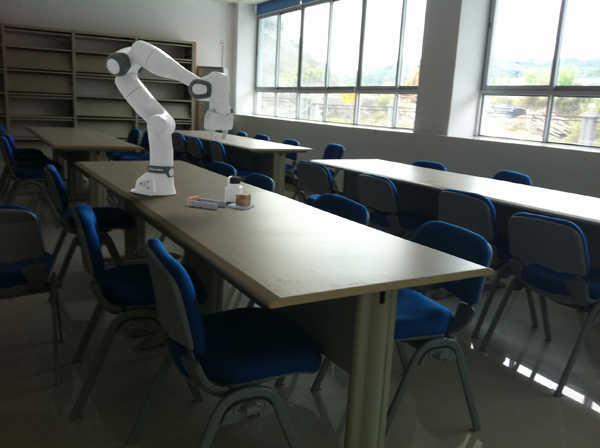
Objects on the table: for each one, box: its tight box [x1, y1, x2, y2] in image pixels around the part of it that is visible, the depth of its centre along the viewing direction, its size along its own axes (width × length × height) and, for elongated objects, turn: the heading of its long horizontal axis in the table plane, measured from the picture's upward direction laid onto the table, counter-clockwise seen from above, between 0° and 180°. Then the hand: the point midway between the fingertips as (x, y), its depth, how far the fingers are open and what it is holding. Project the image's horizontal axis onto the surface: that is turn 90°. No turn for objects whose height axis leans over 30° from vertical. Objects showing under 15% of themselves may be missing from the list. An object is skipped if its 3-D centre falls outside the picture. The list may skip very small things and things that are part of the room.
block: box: [236, 192, 252, 206], centre depth 236 cm, size 5×5×5 cm
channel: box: [187, 195, 228, 211], centre depth 233 cm, size 15×8×4 cm, turn 68°
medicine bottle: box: [224, 175, 244, 203], centre depth 249 cm, size 7×7×12 cm
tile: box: [227, 202, 255, 210], centre depth 237 cm, size 9×9×1 cm
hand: (218, 140), depth 238 cm, fingers open, 8 cm apart
